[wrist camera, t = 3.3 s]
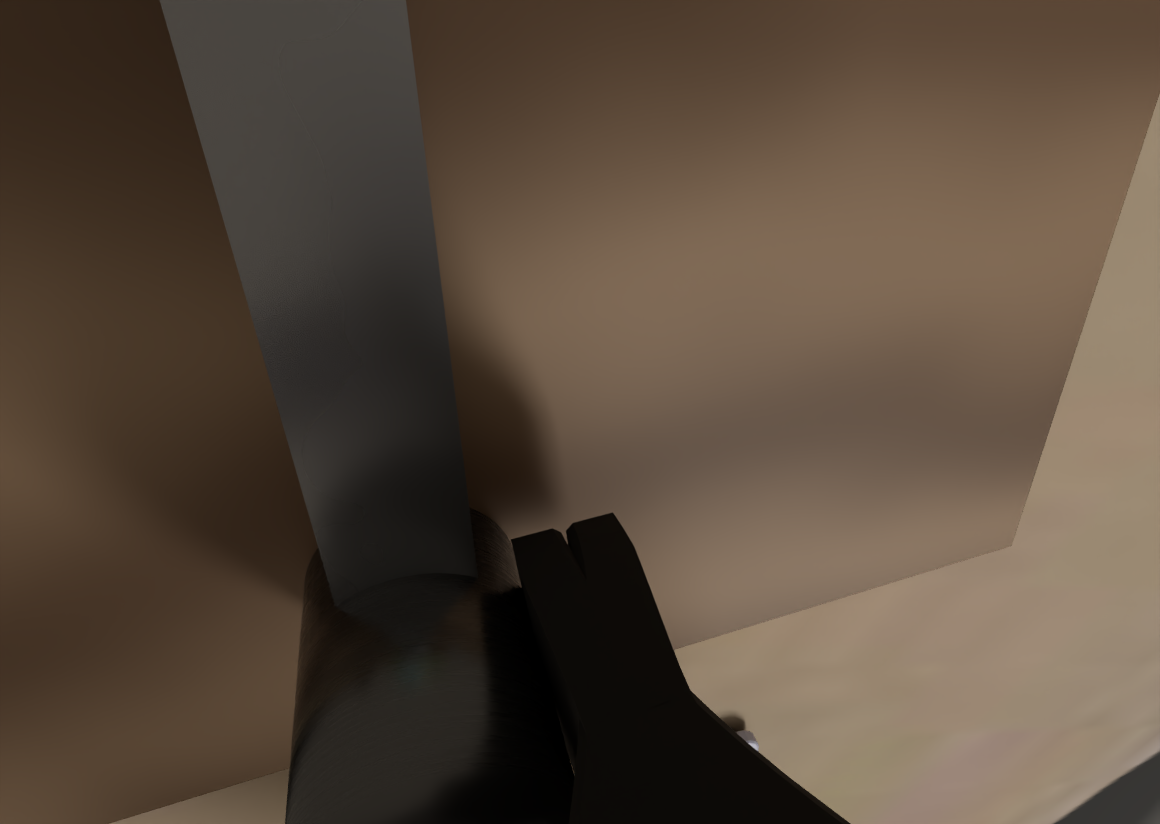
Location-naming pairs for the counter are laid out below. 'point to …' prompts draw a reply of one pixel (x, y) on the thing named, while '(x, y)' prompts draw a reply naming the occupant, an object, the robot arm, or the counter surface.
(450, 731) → the lever
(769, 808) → the robot arm
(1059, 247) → the board
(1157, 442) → the counter surface
